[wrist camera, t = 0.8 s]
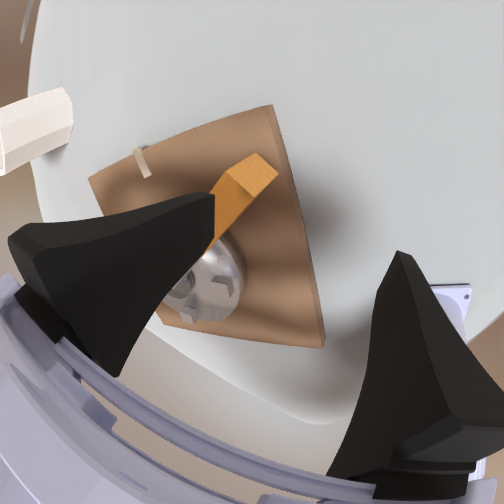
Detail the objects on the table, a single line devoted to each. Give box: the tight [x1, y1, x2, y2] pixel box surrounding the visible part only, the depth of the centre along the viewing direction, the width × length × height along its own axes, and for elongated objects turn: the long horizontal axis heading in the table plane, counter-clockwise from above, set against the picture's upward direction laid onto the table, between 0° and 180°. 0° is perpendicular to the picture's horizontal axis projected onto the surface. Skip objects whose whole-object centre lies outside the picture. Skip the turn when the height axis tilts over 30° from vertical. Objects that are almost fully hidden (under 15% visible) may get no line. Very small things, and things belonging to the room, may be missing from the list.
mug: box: [0, 87, 74, 176], centre depth 21 cm, size 12×9×10 cm
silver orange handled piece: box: [162, 152, 279, 325], centre depth 20 cm, size 20×12×6 cm, turn 143°
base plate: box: [88, 105, 326, 349], centre depth 26 cm, size 22×22×2 cm
